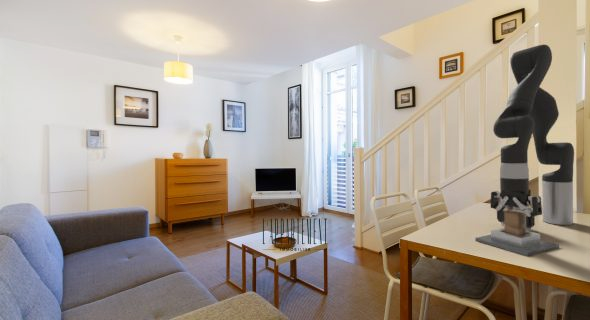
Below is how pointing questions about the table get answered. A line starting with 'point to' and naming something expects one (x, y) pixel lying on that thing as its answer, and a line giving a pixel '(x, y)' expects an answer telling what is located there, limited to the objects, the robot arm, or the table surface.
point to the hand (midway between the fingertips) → (514, 224)
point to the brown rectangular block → (515, 222)
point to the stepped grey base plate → (517, 242)
